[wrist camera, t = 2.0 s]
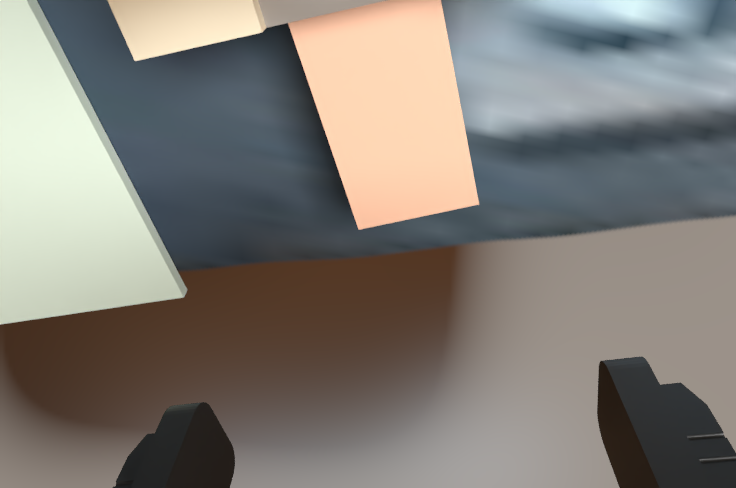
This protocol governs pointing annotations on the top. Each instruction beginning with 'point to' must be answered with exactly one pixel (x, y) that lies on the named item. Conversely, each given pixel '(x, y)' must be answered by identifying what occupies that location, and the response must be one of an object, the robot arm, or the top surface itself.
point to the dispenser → (209, 20)
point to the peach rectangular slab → (389, 108)
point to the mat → (65, 190)
